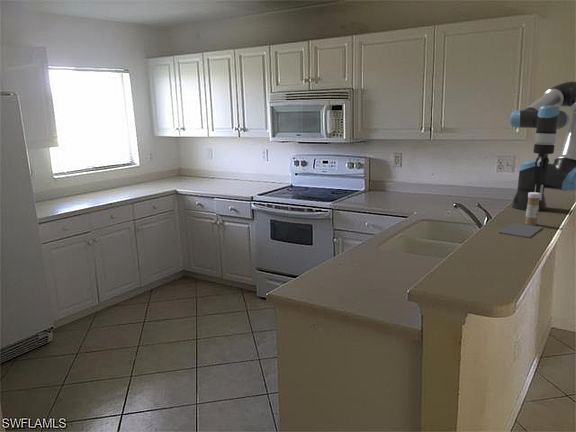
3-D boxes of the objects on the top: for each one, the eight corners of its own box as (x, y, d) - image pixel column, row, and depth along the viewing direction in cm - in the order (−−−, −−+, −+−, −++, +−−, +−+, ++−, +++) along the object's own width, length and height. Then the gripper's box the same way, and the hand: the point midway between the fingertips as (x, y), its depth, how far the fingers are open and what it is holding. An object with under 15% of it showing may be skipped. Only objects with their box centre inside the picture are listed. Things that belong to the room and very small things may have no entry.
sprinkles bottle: (529, 222, 204) (533, 191, 201) (539, 225, 201) (543, 193, 197) (522, 223, 203) (525, 192, 200) (531, 226, 199) (535, 194, 196)
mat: (514, 223, 202) (514, 222, 202) (542, 228, 195) (542, 227, 195) (499, 233, 188) (499, 232, 187) (529, 238, 181) (529, 237, 180)
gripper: (538, 142, 206) (531, 196, 211) (530, 144, 197) (523, 200, 202) (558, 143, 202) (550, 198, 207) (550, 145, 192) (543, 203, 197)
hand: (537, 199), depth 204 cm, fingers closed
